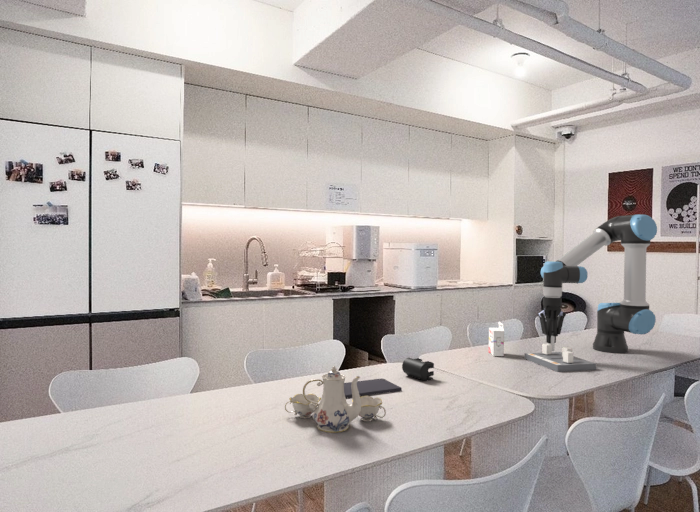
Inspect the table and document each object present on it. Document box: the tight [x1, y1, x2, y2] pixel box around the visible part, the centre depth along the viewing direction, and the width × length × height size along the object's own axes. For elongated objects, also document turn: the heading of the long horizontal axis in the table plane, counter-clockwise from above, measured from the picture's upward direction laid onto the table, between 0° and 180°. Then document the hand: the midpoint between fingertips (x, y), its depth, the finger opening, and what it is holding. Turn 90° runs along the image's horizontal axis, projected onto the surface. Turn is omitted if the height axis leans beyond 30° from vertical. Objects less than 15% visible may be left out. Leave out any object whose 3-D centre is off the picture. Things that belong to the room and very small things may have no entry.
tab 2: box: [561, 346, 573, 357], centre depth 202 cm, size 2×3×4 cm
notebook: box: [344, 378, 402, 399], centre depth 161 cm, size 13×2×21 cm
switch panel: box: [523, 351, 597, 373], centre depth 201 cm, size 18×22×3 cm
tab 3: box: [563, 351, 575, 363], centre depth 194 cm, size 2×3×4 cm
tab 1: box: [541, 343, 553, 355], centre depth 208 cm, size 2×3×4 cm
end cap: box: [401, 357, 435, 382], centre depth 176 cm, size 10×7×7 cm
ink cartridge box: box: [488, 321, 505, 357], centre depth 217 cm, size 9×5×15 cm, turn 179°
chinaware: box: [284, 365, 387, 433], centre depth 130 cm, size 28×17×17 cm, turn 91°
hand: (550, 350), depth 209 cm, fingers closed
